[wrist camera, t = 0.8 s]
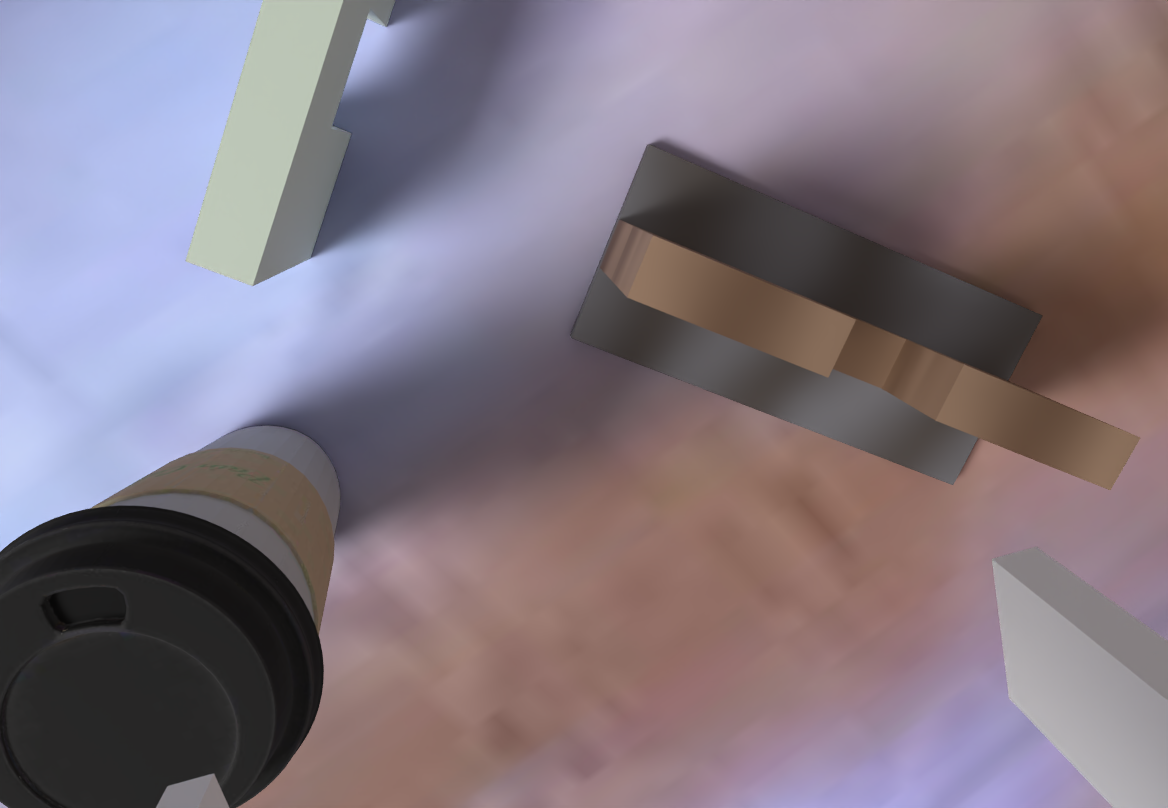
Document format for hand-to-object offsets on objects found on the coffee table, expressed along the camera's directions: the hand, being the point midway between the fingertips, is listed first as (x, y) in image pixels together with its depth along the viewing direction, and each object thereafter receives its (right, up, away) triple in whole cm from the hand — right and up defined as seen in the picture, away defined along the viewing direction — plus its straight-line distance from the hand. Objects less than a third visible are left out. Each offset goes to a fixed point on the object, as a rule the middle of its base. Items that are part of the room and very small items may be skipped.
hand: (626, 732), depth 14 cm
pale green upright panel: (-10, +18, +18) cm, 27 cm away
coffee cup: (-14, +2, +22) cm, 26 cm away
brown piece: (+9, +9, +22) cm, 25 cm away
